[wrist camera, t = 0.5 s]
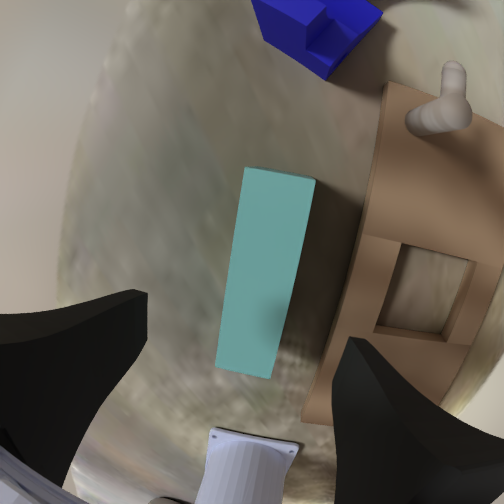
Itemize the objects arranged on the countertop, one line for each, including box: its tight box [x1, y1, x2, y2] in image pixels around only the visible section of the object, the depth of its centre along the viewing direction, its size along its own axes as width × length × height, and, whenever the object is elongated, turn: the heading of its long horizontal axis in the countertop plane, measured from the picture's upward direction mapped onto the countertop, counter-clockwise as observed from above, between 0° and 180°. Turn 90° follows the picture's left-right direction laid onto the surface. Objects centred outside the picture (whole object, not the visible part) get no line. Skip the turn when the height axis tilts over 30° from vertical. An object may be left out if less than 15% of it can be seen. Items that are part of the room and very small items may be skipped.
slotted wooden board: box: [301, 61, 504, 426], centre depth 15 cm, size 25×11×6 cm, turn 170°
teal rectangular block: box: [215, 166, 316, 379], centre depth 17 cm, size 11×3×4 cm, turn 170°
